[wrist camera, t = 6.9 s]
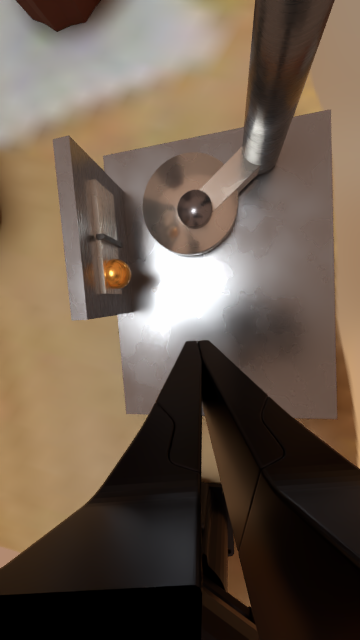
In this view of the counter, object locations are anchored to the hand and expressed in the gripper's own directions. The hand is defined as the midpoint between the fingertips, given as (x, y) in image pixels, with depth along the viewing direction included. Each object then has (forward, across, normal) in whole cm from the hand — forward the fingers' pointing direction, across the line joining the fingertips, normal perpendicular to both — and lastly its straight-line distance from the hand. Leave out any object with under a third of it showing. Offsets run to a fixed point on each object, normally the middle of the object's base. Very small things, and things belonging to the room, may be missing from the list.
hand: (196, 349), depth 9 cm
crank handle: (+14, -2, -4) cm, 15 cm away
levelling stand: (+12, -3, +2) cm, 12 cm away
